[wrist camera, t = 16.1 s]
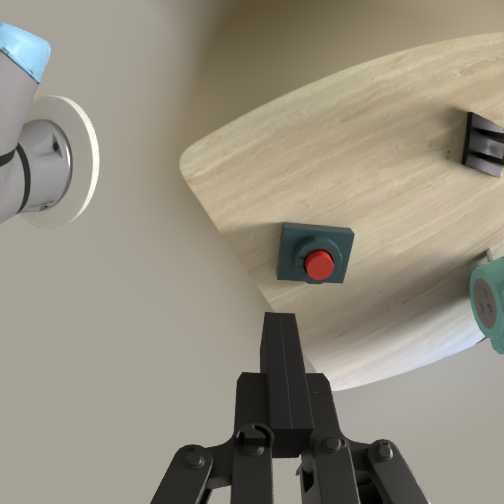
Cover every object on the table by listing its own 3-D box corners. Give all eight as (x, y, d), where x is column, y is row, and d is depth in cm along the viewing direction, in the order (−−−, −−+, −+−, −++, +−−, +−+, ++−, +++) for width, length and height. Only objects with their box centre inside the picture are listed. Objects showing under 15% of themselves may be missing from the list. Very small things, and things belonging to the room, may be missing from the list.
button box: (276, 272, 43) (278, 286, 40) (282, 221, 40) (285, 232, 36) (339, 276, 43) (346, 290, 40) (350, 228, 40) (359, 239, 36)
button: (302, 272, 39) (304, 279, 37) (307, 249, 38) (309, 255, 36) (327, 274, 39) (330, 280, 38) (333, 251, 38) (336, 256, 36)
